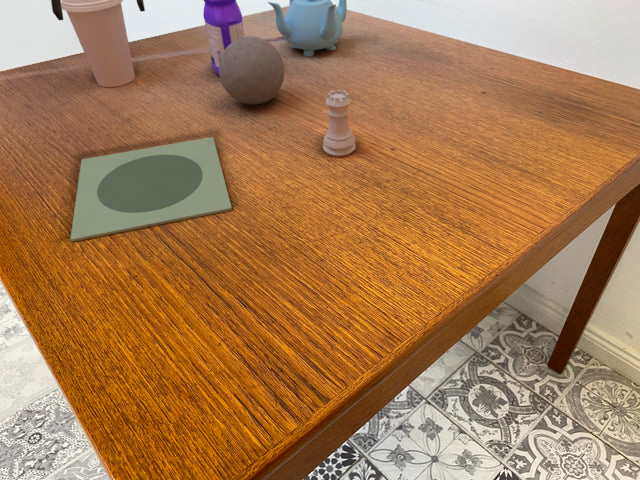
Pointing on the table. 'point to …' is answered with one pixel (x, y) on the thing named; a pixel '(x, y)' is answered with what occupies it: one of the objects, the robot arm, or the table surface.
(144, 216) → the mat
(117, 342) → the table surface
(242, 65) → the decorative ball
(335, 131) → the rook chess piece
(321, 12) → the teapot
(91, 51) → the coffee cup
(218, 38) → the bottle
